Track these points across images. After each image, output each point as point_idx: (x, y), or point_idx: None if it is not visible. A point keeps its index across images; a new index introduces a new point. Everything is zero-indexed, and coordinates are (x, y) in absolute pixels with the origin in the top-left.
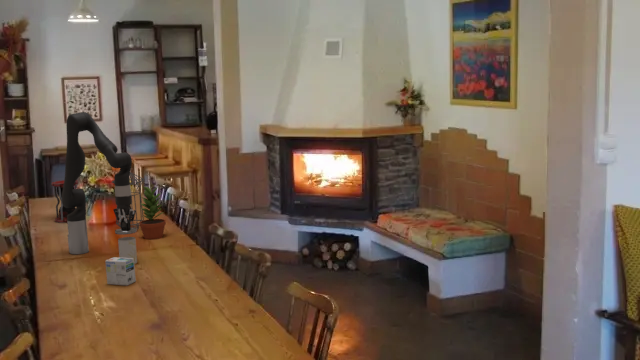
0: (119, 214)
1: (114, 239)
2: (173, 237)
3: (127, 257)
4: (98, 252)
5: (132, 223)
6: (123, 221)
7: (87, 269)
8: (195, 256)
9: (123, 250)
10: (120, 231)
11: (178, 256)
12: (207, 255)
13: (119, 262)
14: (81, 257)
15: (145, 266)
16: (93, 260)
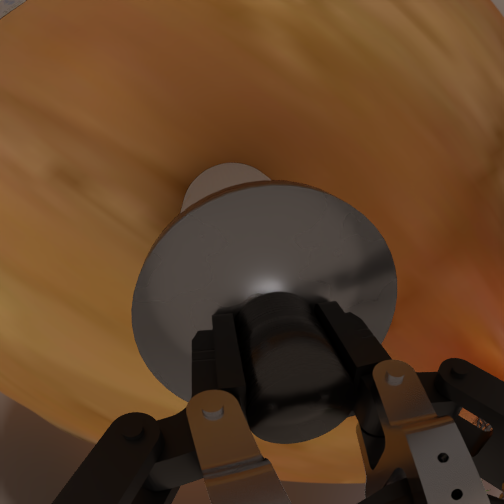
0: (450, 469)
1: (496, 363)
2: (356, 468)
3: (192, 189)
4: (482, 253)
5: (489, 429)
6: (341, 401)
7: (325, 12)
8: (82, 414)
9: (213, 183)
10: (252, 227)
11: (128, 395)
12: (69, 431)
13: None
14: (492, 168)
15: (85, 219)
16: (431, 152)
